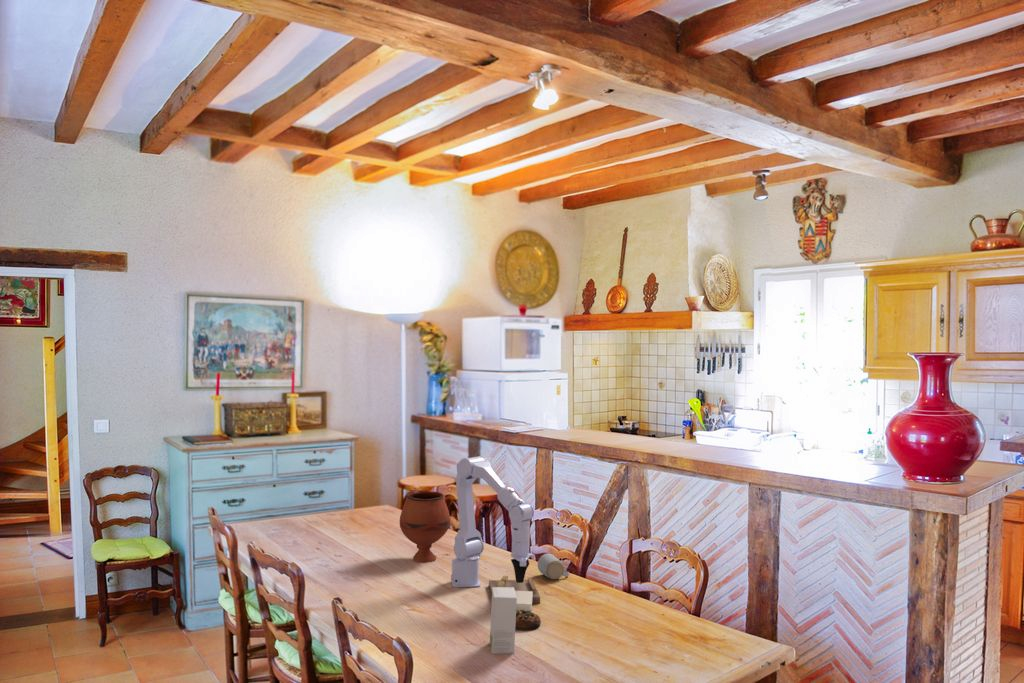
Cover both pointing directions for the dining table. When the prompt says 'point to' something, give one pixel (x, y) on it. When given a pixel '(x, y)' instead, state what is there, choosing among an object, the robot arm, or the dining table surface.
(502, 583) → the brass T-key
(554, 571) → the ceramic mug
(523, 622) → the bread roll
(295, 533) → the dining table surface
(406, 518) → the goblet
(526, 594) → the cream cover
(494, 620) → the skincare box
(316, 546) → the dining table surface
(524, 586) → the board
